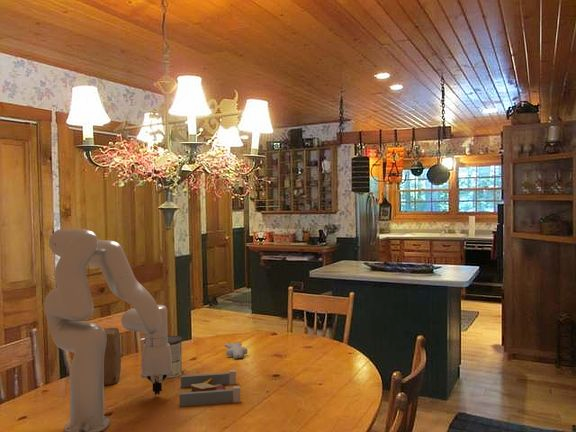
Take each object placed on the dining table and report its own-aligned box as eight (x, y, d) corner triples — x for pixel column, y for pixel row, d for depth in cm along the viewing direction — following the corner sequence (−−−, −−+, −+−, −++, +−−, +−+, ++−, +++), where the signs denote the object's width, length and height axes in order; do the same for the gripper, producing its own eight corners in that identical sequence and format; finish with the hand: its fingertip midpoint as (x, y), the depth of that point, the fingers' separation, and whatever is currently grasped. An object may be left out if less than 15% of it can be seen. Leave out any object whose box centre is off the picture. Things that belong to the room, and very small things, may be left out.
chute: (240, 402, 170) (240, 388, 169) (179, 406, 166) (179, 392, 166) (235, 382, 188) (235, 369, 188) (180, 386, 185) (180, 373, 185)
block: (116, 385, 186) (115, 332, 185) (95, 386, 185) (94, 332, 185) (123, 375, 196) (122, 325, 196) (103, 376, 196) (103, 325, 195)
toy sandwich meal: (233, 395, 176) (233, 382, 176) (199, 405, 167) (199, 391, 167) (215, 386, 186) (215, 373, 186) (182, 394, 177) (182, 381, 177)
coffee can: (150, 374, 198) (150, 339, 198) (171, 368, 206) (171, 334, 206) (166, 380, 192) (166, 343, 191) (187, 373, 200) (187, 338, 199)
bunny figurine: (228, 351, 215) (222, 339, 230) (227, 363, 216) (222, 349, 230) (249, 350, 218) (243, 337, 232) (249, 361, 219) (242, 348, 233)
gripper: (133, 345, 168) (133, 399, 169) (178, 342, 171) (178, 395, 172) (135, 339, 176) (136, 391, 176) (178, 337, 179) (179, 387, 179)
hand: (157, 393), depth 174 cm, fingers closed
